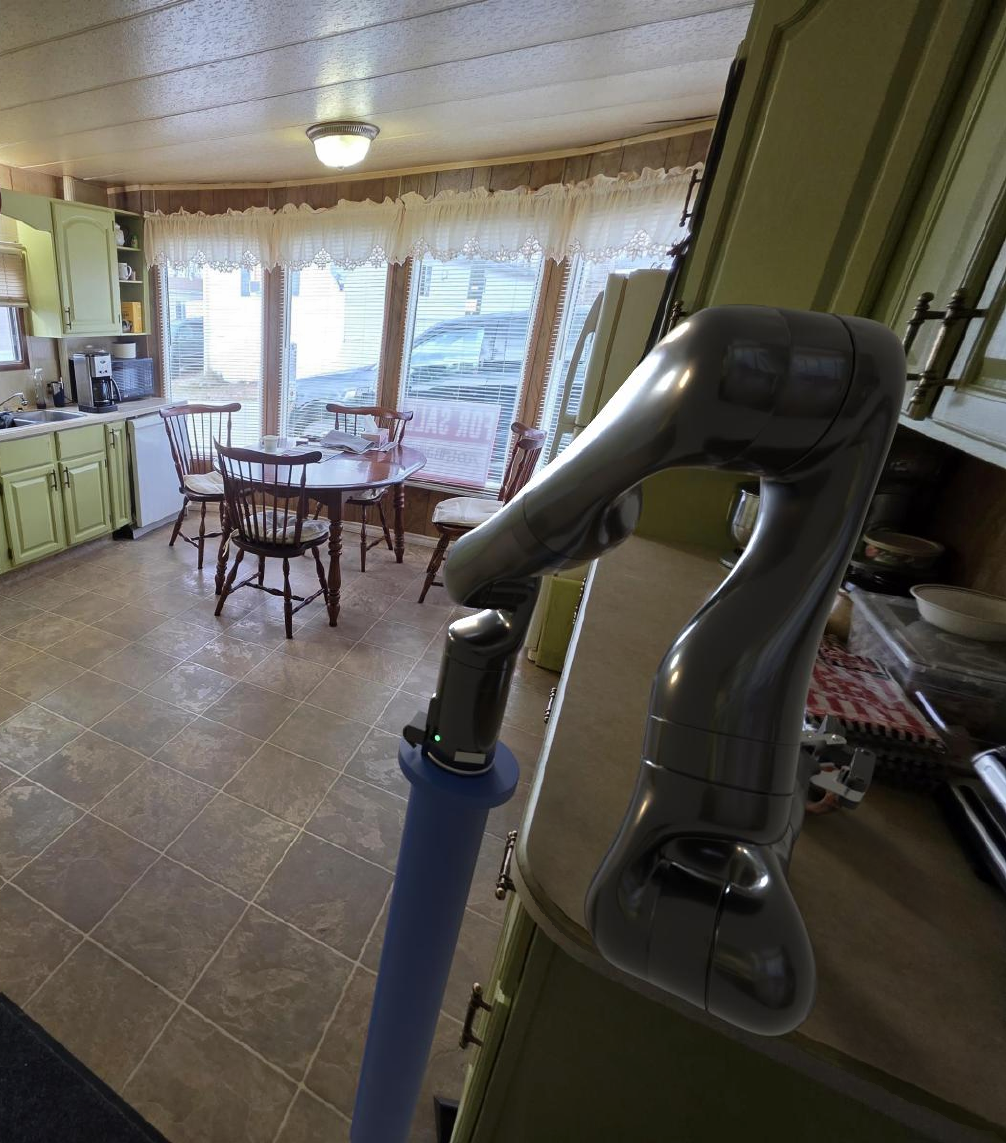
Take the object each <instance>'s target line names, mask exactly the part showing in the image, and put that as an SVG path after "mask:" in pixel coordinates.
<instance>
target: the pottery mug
mask: <svg viewBox="0 0 1006 1143" xmlns="http://www.w3.org/2000/svg"><path fill="white" fill-rule="evenodd" d="M821 770H822V771H826V772H832V771H833V770H840V769H839V768H838V767H836V766H835V765H834V766H827V767H821ZM836 797H837V794H835V793H833V792H831V791H829V790H827V789H825V788H822V787H820V786H817V785H815V784H814V785H813V786H810V787H809V790H808V796H807V802H806V808H805V814H804V815H807V816H827V815H832V814H835V813H837V812H838V811H840V810H841V809H842V808H844V807H843V806H841V805H840V804H838V803H837V802H836Z"/></svg>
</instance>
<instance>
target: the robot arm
mask: <svg viewBox="0 0 1006 1143" xmlns="http://www.w3.org/2000/svg"><path fill="white" fill-rule="evenodd" d="M907 377H908V362H907V356H906V351H905V346H904V344H903V342H902V340H901V338H899V336H898V335H897V334H896V332H895V330H893V329H892V328H891V327H889V326H888V325H886V324H883V323H881V322H879V321H877V320H875V319H871V318H866V317H861V316H856V315H849V314H842V313H833V312H823V311H813V310H804V309H796V308H786V307H778V306H767V305H763V304H752V303H751V304H750V303H730V304H729V303H728V304H719V305H713V306H708V307H705V308H703V309H701V310H699V311H697V312H695V313H693V314H692V315H689V316H688V317H687V318H685V319H684V320H683V321H681V322H680V323H679V324H677V325H676V326H675V327H674V328H673V329H671V330H670V331H669V332H668V333H667V334H666V335H664V337H663V338H662V339H661V340H660V341H659V342H658V343H657V344H656V345H655V346H654V347H653V348H652V349H651V350H650V352H649V353H648V354H647V355H646V356H645V358H644V359H643V360H642V361H641V362H640V363H639V365H638V366H637V367H636V368H635V369H634V371H633V372H632V373H631V375H630V376H629V377H628V378H627V379H626V381H625V382H624V383H623V384H622V386H621V387H620V388H619V389H618V390H617V392H615V394H614V395H613V397H612V398H611V399H610V400H609V401H608V403H606V405H605V406H604V407H603V409H601V411H600V412H599V413H598V414H597V416H596V417H595V418H594V419H593V420H592V421H591V423H590V424H589V425H588V426H587V427H586V428H585V429H584V430H583V431H582V432H581V433H580V434H579V435H578V436H577V437H576V438H575V439H574V441H572V442H571V444H569V446H567V447H566V448H565V449H564V450H563V451H562V452H561V453H560V454H559V455H558V457H557V456H556V458H555V459H554V460H553V461H552V462H551V463H549V464H548V465H547V466H546V467H545V468H543V469H542V470H541V471H539V472H538V473H537V474H536V475H535V476H534V477H533V478H532V479H531V480H530V481H529V482H528V483H526V484H525V486H523V487H522V488H521V489H520V490H519V492H518V493H517V494H516V495H515V496H514V497H513V498H512V499H511V500H510V501H509V502H508V503H506V504H505V505H504V506H503V507H502V508H501V509H499V510H498V511H497V512H496V513H494V515H492V516H491V517H490V518H489V519H488V520H486V521H485V522H483V523H481V524H480V525H479V526H477V527H475V528H474V529H472V530H470V531H468V532H466V533H465V534H463V535H461V536H460V537H459V538H458V539H457V540H456V541H455V542H454V543H453V545H451V547H450V549H449V551H448V552H447V554H446V557H445V560H444V563H443V567H442V576H441V578H442V585H443V589H444V592H445V594H446V596H447V597H448V599H449V600H450V601H451V602H452V603H453V604H455V605H457V606H459V607H461V608H465V609H470V610H481V612H478V613H476V614H474V615H471V616H467V617H464V618H461V619H458V620H456V621H455V622H453V623H451V624H450V625H449V627H448V628H447V630H446V632H445V636H444V642H443V649H442V654H441V660H440V666H439V671H438V676H437V681H436V686H435V687H436V688H435V692H434V693H433V694H432V696H431V697H430V699H429V704H428V709H427V712H424V711H421V710H417V711H416V712H415V714H414V715H413V717H412V718H411V720H410V722H409V723H407V724H406V725H404V727H403V728H402V735H403V737H404V738H405V740H406V741H407V742H408V743H409V744H410V745H411V747H412V748H415V747H417V744H419V745H422V748H421V755H423V756H426V757H427V758H428V759H429V760H430V761H431V762H432V763H433V764H434V765H435V766H436V767H438V768H439V769H441V770H443V771H445V772H447V773H449V774H452V775H455V776H459V777H466V778H475V777H480V776H483V775H486V774H487V773H489V772H490V770H491V769H492V766H493V762H494V756H495V751H496V747H497V743H498V740H499V738H500V734H501V729H502V725H503V722H504V717H505V713H506V709H507V704H508V700H509V697H510V692H511V687H512V684H513V680H514V677H515V676H514V675H515V671H516V668H517V662H518V658H519V655H520V652H521V651H522V650H523V648H524V646H525V643H526V639H527V636H528V632H529V629H530V625H531V622H532V620H533V616H534V613H535V610H536V607H537V604H538V601H539V598H540V597H539V596H540V593H541V589H542V585H543V579H544V576H552V575H556V574H562V573H565V572H569V571H572V570H575V569H579V568H581V567H584V566H586V565H588V564H590V563H592V562H594V561H595V560H598V559H599V558H602V557H603V556H605V555H607V554H609V553H611V552H612V551H614V550H615V549H618V547H620V546H622V545H623V544H624V543H625V542H626V541H627V540H628V539H629V538H630V537H631V536H632V535H633V533H634V531H635V530H636V528H637V527H638V525H639V523H640V519H641V516H642V513H643V505H644V492H643V484H642V483H643V482H644V481H646V480H648V479H649V478H652V477H653V476H656V475H657V474H660V473H662V472H666V471H670V470H675V469H696V470H707V471H713V472H721V473H729V474H736V475H743V476H744V475H745V476H752V477H758V478H759V482H760V483H759V500H758V508H757V515H756V520H755V523H754V526H753V530H752V532H751V535H750V536H749V537H750V538H749V540H748V542H747V544H746V546H745V548H744V550H743V552H742V554H741V555H740V557H739V558H738V560H737V562H736V563H735V564H734V565H733V567H732V569H731V570H730V571H729V573H728V574H727V576H726V577H725V578H724V579H723V581H722V582H721V583H720V584H719V585H718V586H717V587H716V589H715V590H714V591H713V592H712V593H711V595H710V596H709V597H708V598H707V599H706V600H705V602H704V603H702V605H701V606H700V607H699V608H698V609H697V611H695V612H694V614H693V615H692V616H691V617H690V618H689V620H688V621H686V623H685V624H684V626H682V628H681V629H680V630H679V632H678V633H677V634H676V635H675V637H674V638H673V639H672V640H671V642H670V643H669V645H668V646H667V647H666V648H667V649H666V650H665V652H664V653H663V655H662V656H661V658H660V661H659V663H658V665H657V667H656V670H655V673H654V676H653V679H652V682H651V687H650V691H649V695H648V702H647V709H646V716H645V721H644V722H645V723H644V731H643V737H642V744H641V751H640V755H641V756H640V758H639V765H638V771H637V775H636V779H635V783H634V787H633V791H632V793H631V797H630V800H629V803H628V805H627V808H626V810H625V813H624V815H623V818H622V820H621V823H620V825H619V827H618V829H617V831H616V833H615V835H614V837H613V839H612V841H611V843H610V844H609V846H608V848H607V850H606V851H605V853H604V855H603V857H602V858H601V861H600V862H599V864H598V866H597V868H596V869H595V871H594V873H593V875H592V876H591V877H592V878H591V880H590V882H589V885H588V886H587V889H586V893H585V895H584V896H585V897H584V903H583V916H584V922H585V927H586V930H587V932H588V935H589V938H590V939H591V942H592V943H593V945H594V948H595V949H596V950H597V951H598V953H599V954H600V955H601V957H603V959H604V960H606V961H607V962H608V963H610V964H611V965H612V966H614V967H616V968H617V969H618V970H621V971H623V972H625V973H627V974H629V975H631V976H633V977H635V978H637V979H639V980H641V981H643V982H645V983H647V984H650V985H651V986H653V987H655V988H657V989H660V990H661V991H664V992H666V993H668V994H670V995H672V996H674V997H676V998H678V999H680V1000H683V1001H684V1002H686V1003H688V1004H691V1005H692V1006H695V1007H696V1008H698V1009H701V1010H702V1011H705V1012H706V1011H707V1012H708V1013H709V1014H710V1015H711V1016H714V1017H717V1018H718V1019H720V1020H722V1021H724V1022H726V1023H728V1024H731V1025H732V1026H735V1027H736V1028H739V1029H741V1030H744V1031H746V1032H750V1033H752V1034H754V1035H759V1036H766V1037H778V1036H783V1035H786V1034H790V1033H792V1032H793V1031H796V1030H797V1029H799V1028H800V1027H802V1025H803V1024H805V1022H806V1021H807V1020H808V1019H809V1018H810V1017H811V1015H812V1013H813V1011H814V1008H815V1006H816V1002H817V998H818V990H819V989H818V988H819V976H818V974H819V973H818V965H817V959H816V955H815V950H814V946H813V942H812V939H811V935H810V933H809V930H808V927H807V924H806V922H805V918H804V916H803V913H802V911H801V910H800V907H799V906H800V905H798V902H797V900H796V897H795V895H794V893H793V889H792V887H791V883H790V880H789V878H790V877H789V876H790V867H791V862H792V857H793V850H794V846H795V844H796V843H797V841H798V839H799V836H800V834H801V832H802V828H803V824H804V819H805V815H806V814H805V808H806V802H807V796H808V790H809V787H810V786H813V785H814V784H815V785H817V786H820V787H822V788H825V789H827V790H829V791H831V792H833V793H835V794H837V797H836V802H837V803H838V804H840V805H841V806H843V807H842V808H845V809H848V810H853V811H855V810H857V809H858V807H859V805H860V803H861V802H862V800H863V798H864V796H865V795H866V792H867V791H868V789H869V787H870V785H871V782H872V779H873V778H872V777H873V774H874V770H875V765H876V760H877V754H876V753H875V752H874V751H872V750H870V749H868V748H865V747H862V746H861V747H860V746H858V747H856V748H853V747H851V746H850V745H848V744H847V740H846V731H847V730H846V729H847V728H845V726H844V725H842V724H839V723H838V718H837V717H835V716H832V715H829V714H826V715H825V717H824V718H823V721H822V723H821V725H820V726H819V728H818V731H817V733H815V732H814V731H812V730H809V729H807V730H804V721H805V714H806V708H807V707H806V706H807V703H808V697H809V692H810V686H811V681H812V677H813V674H814V668H815V665H816V661H817V658H818V653H819V649H820V647H821V643H822V639H823V636H824V633H825V629H826V626H827V624H828V620H829V618H830V615H831V613H832V610H833V607H834V604H835V602H836V599H837V597H838V593H839V591H840V589H841V586H842V582H843V580H844V576H845V574H846V571H847V569H848V566H849V564H850V561H851V559H852V556H853V553H854V551H855V548H856V546H857V543H858V541H859V538H860V535H861V532H862V529H863V526H864V523H865V520H866V517H867V514H868V512H869V508H870V505H871V502H872V499H873V497H874V494H875V491H876V488H877V486H878V483H879V480H880V477H881V474H882V471H883V469H884V466H885V463H886V460H887V457H888V454H889V452H890V449H891V446H892V443H893V441H894V440H893V439H894V437H895V434H896V431H897V428H898V423H899V419H900V417H901V412H902V409H903V404H904V399H905V394H906V388H907ZM416 743H417V744H416ZM835 765H836V766H838V767H840V769H839V770H833V771H832V772H826V771H822V770H821V767H827V766H835Z"/></svg>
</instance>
